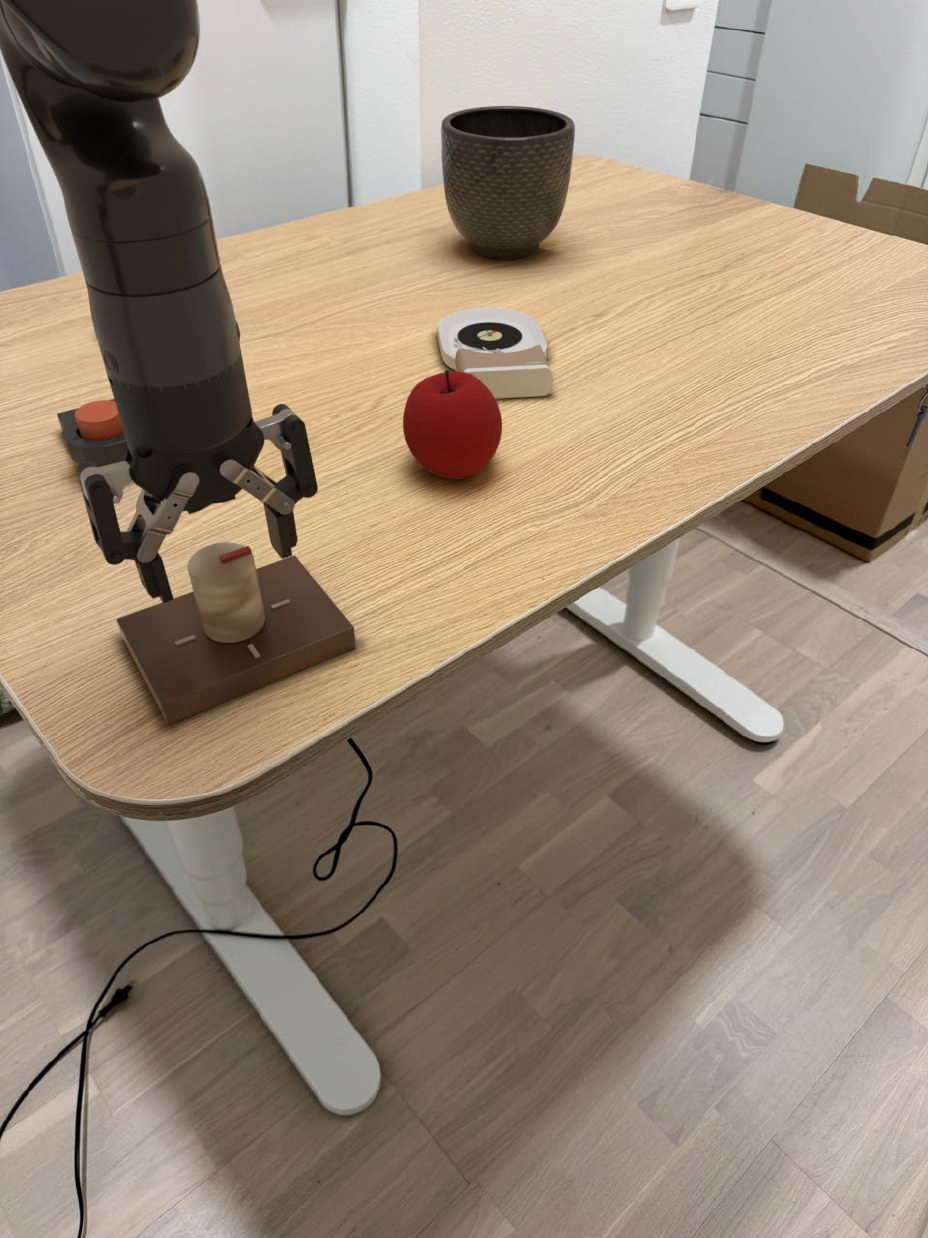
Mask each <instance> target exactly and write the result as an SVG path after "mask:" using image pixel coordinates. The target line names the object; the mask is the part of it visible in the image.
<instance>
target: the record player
mask: <svg viewBox="0 0 928 1238" xmlns="http://www.w3.org/2000/svg"><path fill="white" fill-rule="evenodd" d="M437 341H438V345H439V351H440V354H441V357H442V361H443V362H444V364H445V365H446V366H447V367H449V368H451V369H452V371H459V372H465V373H469V374H472V375H473V376H475V377H476V378H477V379H479V380H480V381H481V382H483V383H484V384H485V385H486V386H487V387H488V388H489V390H490V391H491V393H492V395H493V396H494V398H495V400H497V399H512V398H513V399H515V398H534V397H546V396H548V395H549V394H550V393H551V391H552V388H553V382H554V381H553V380H554V378H553V377H554V376H553V373H552V370H551V367H550V365H549V362H548V360H547V355H548V354H547V353H548V342H547V340H546V337H545V334H544V332H543V329H542V328H541V325H540V323H539V322H538V321H537V320H536V319H535V318H534V317H533V316H531V315H530V314H528V313H526V312H522V311H520V310H515V309H510V308H505V307H495V306H493V307H492V306H484V307H483V306H482V307H481V306H480V307H472V308H466V309H461V310H458V311H455V312H452V313H450V314H447V315H446V316H444V317H443V318H442V319H441V320H440V321H439V323H437Z"/></svg>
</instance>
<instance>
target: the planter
mask: <svg viewBox="0 0 928 1238" xmlns="http://www.w3.org/2000/svg"><path fill="white" fill-rule="evenodd" d="M575 138H576V124H575V122H574V120H573V119H572V118H571V117H570V116H568V115H566V114H563V113H561V112H558V111H556V110H555V111H554V110H551V109H545V108H541V107H540V108H539V107H533V106H521V105H491V106H480V107H471V108H466V109H462V110H461V109H460V110H458V111H454V112H452V113H450V114H448V115H446V116H445V117H444V118H443V119H442V120H441V125H440V141H441V142H440V145H441V147H440V148H441V149H440V150H441V151H440V153H441V155H440V156H441V157H440V158H441V170H442V181H443V190H444V197H445V202H446V207H447V211H448V214H449V217H450V219H451V221H452V224H453V226H454V227H455V229H456V230H457V232H458V233H459V234H460V235H461V236H462V237H463V238H464V239H465V240H466V241H468V242H469V245H470V248H471V249H472V250H473V252H474V253H476V254H477V255H479V256H481V257H484V258H487V259H492V260H500V261H501V260H504V261H505V260H507V261H508V260H519V259H523V258H526V257H527V258H528V257H529V256H531V255H533V254H534V253H535V252H536V250H537V249H538V247H539V245H540V244H541V243H542V242H543V241H545V239H547V238H548V237H549V236H550V235H551V234H552V232H553V231H554V230H555V228H556V227H557V226H558V224H559V223H560V221H561V217H562V215H563V212H564V209H565V206H566V201H567V198H568V192H569V187H570V181H571V180H570V179H571V173H572V167H573V161H574V160H573V159H574V149H575V148H574V147H575Z"/></svg>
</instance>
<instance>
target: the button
mask: <svg viewBox="0 0 928 1238" xmlns="http://www.w3.org/2000/svg"><path fill="white" fill-rule="evenodd" d="M110 400H111V399H101V400H94V401H90V402H87V403H84V404H82V405H81V406H79V407H77V408H78V409H77V408H76V409H77V410H76V412H75V418H76V421H77V425H78V428H79V431H80V434H81V436H82V438H83V439H86V440H90V441H94V440H107V439H110V438H114V437H117V436H119V435H120V434H122V433H123V432H124V431H123V427H122V424H121V420H120V417H119V413H118V410H117V407H116V403H115V401H110Z"/></svg>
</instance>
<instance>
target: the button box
mask: <svg viewBox="0 0 928 1238" xmlns="http://www.w3.org/2000/svg"><path fill="white" fill-rule="evenodd" d="M109 400H110V401H115V400H114V398H112V399H109ZM78 408H79V407H77V408H73V409H68V410H65V411H61V412H58V413H56V416H57V420H58V422H59V426H60V428H61V431H62V432H61V438H62V439H63V440H62V441H63V443H64V446H65V448H66V452H67V453H68V455H69V457H70V458H71V460H72V461H74V462H78V463H80V464H81V463H83V462H93V463H94V464H96V466H97V467H101V466H105V465H109V464H114V463H118V462H122V461H124V459H125V456H126V452H127V442H126V438H125V434H124V432H123V433H122V434H120V435H119V436H117V437H114V438H110V439H107V440H94V441H90V440H86V439H83V438H82V436H81V434H80V431H79V428H78V425H77V421H76V418H75V412H76V410H77V409H78Z"/></svg>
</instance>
